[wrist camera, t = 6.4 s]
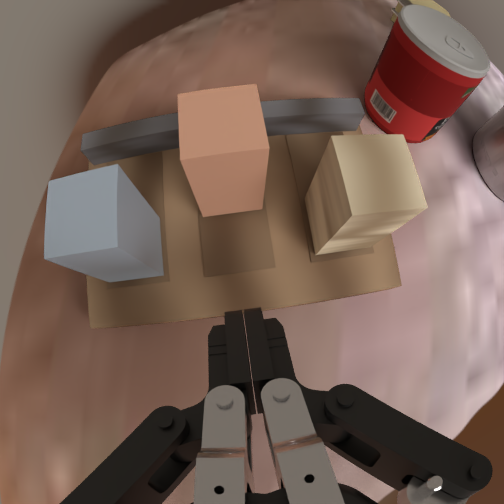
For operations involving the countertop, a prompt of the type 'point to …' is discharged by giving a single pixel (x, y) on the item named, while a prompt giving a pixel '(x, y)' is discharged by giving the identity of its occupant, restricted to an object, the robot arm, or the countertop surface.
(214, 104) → the salmon orange block
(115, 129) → the wooden board with bar
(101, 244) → the slate key
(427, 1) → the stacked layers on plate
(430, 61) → the canned food
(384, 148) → the maple key
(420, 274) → the countertop surface
